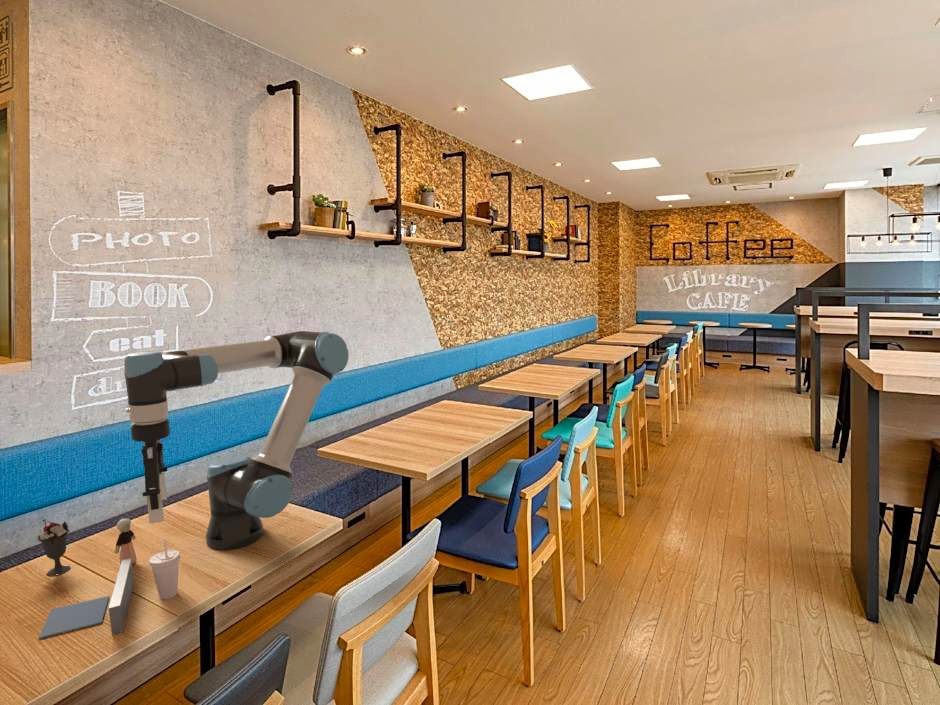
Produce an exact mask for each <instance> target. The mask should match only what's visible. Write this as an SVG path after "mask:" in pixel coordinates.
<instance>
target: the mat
mask: <svg viewBox="0 0 940 705" xmlns="http://www.w3.org/2000/svg"><path fill="white" fill-rule="evenodd" d="M109 599H110V596H109V595H107V596H102V597H99V598H95V599H94V598H93V599H90V600H85V601H81V602H77V603H74V604H73V603H72V604H69V605H68V604H67V605H64V606H60V607H56V608H51V610H50V612H49V613H48V615H47V618H46V621H45V623H44V626H43V627H42V630H41V632H40V634H39V636H38V640H42V639H45V637H46V638H49V636H50V637H53V636H52V635H54V636H57V635H56V634H58V635H61V634H60V633H62V634H64V633H63V632H66V633H69V632H68V631H70V632H72V631H71V630H74V631H78V630H81V629H80V628H82V629H85V627H86V628H89V627H88V626H90V627H93V625H94V626H97V625H96V624H98V625H101V624H100V623H102V624H103V621H104V618H105V614H106V611H105V610H107V606H108V603H109ZM103 617H104V618H103ZM77 629H78V630H77ZM41 638H42V639H41Z"/></svg>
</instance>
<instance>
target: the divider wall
mask: <svg viewBox="0 0 940 705" xmlns="http://www.w3.org/2000/svg"><path fill="white" fill-rule="evenodd" d="M119 565H120V564H119ZM119 568H120V569H119ZM119 568H118V569H119V570H118V573H117V576H116V580H115V584H114V587H113V591H112V595H111V597H110V598H111V599H110V602H109V605H108V615H109V623H110V631H111V635H114V634H113V633H116V634H119V633H118V632H120V633H122V632H121V631H123V632H124V630H123V628H125V625H126V624H125V623H126V620H125V619H127V616H126V614H128V611H127V610H129V606H130V602H129V601H131V596H132V592H133V586H134V582H135V578H134V572H133V565H132V560H131V559H126V560H122V561H121V565H120V566H119ZM128 605H129V606H128ZM124 624H125V625H124Z"/></svg>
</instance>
